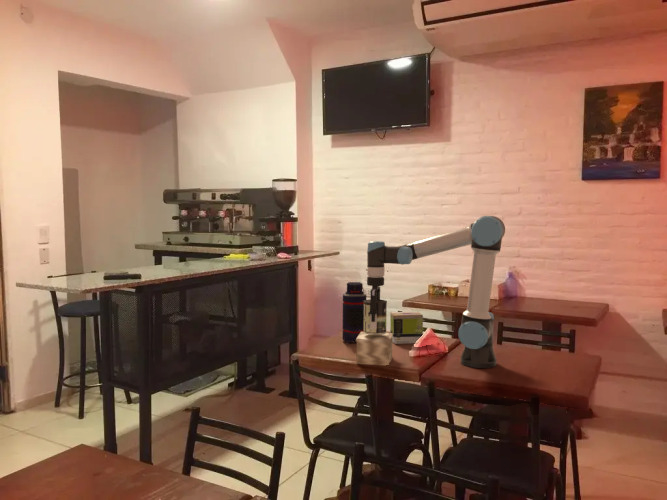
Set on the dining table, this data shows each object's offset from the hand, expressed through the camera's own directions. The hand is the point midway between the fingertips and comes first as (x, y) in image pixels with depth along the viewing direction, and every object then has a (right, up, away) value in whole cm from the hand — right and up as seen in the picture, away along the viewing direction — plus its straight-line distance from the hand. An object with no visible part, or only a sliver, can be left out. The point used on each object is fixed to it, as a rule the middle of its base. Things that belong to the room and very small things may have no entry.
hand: (374, 326), depth 250 cm
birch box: (0, -15, +1) cm, 15 cm away
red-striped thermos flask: (-8, -13, +37) cm, 40 cm away
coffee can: (0, -3, 0) cm, 3 cm away
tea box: (+19, -13, +37) cm, 43 cm away
